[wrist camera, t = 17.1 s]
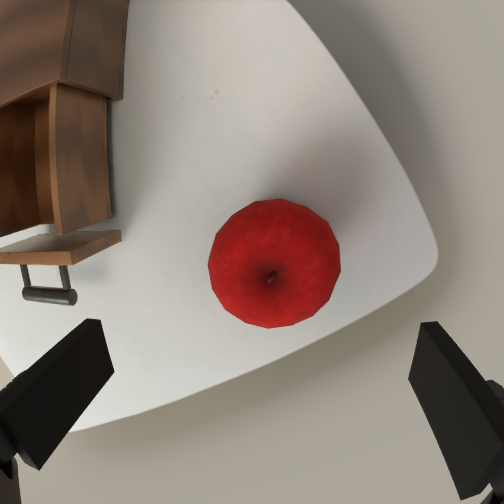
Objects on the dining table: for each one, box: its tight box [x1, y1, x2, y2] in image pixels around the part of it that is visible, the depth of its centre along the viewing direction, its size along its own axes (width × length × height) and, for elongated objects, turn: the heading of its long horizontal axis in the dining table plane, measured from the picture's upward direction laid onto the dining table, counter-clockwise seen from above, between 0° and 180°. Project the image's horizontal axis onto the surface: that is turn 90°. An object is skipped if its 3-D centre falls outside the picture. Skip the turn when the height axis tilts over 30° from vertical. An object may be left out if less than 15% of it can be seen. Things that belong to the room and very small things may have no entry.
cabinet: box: [0, 0, 129, 109], centre depth 21 cm, size 19×14×11 cm
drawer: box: [0, 82, 122, 306], centre depth 26 cm, size 22×12×9 cm, turn 2°
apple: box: [208, 199, 341, 329], centre depth 25 cm, size 10×10×11 cm
